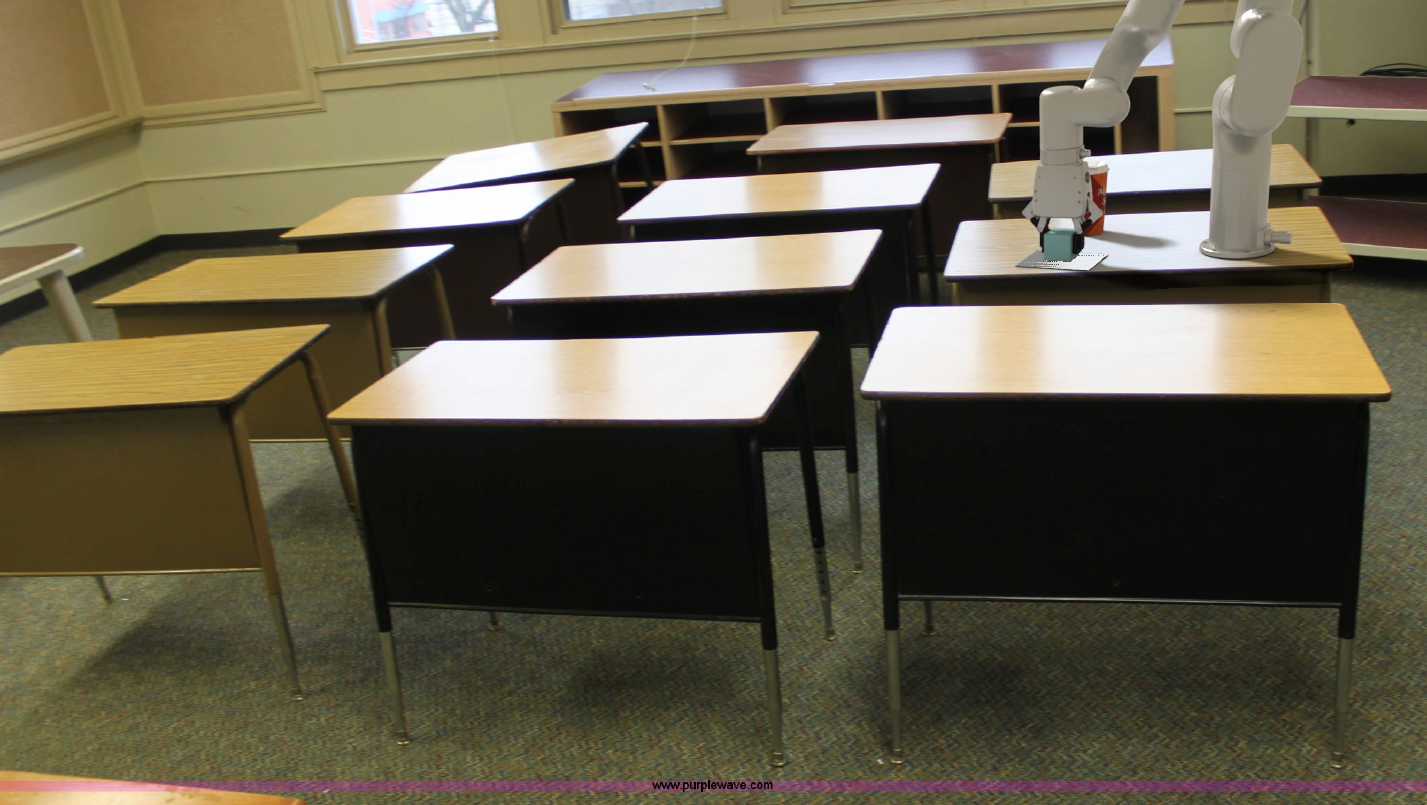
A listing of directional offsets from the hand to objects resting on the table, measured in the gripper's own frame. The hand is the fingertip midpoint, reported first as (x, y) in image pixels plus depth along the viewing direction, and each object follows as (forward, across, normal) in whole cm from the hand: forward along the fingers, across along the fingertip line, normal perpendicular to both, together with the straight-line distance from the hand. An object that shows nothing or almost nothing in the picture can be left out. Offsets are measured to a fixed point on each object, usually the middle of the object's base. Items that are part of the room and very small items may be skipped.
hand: (1061, 250), depth 214 cm
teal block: (+1, 0, 0) cm, 1 cm away
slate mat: (+2, 0, 0) cm, 2 cm away
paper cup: (+2, +2, -21) cm, 21 cm away
